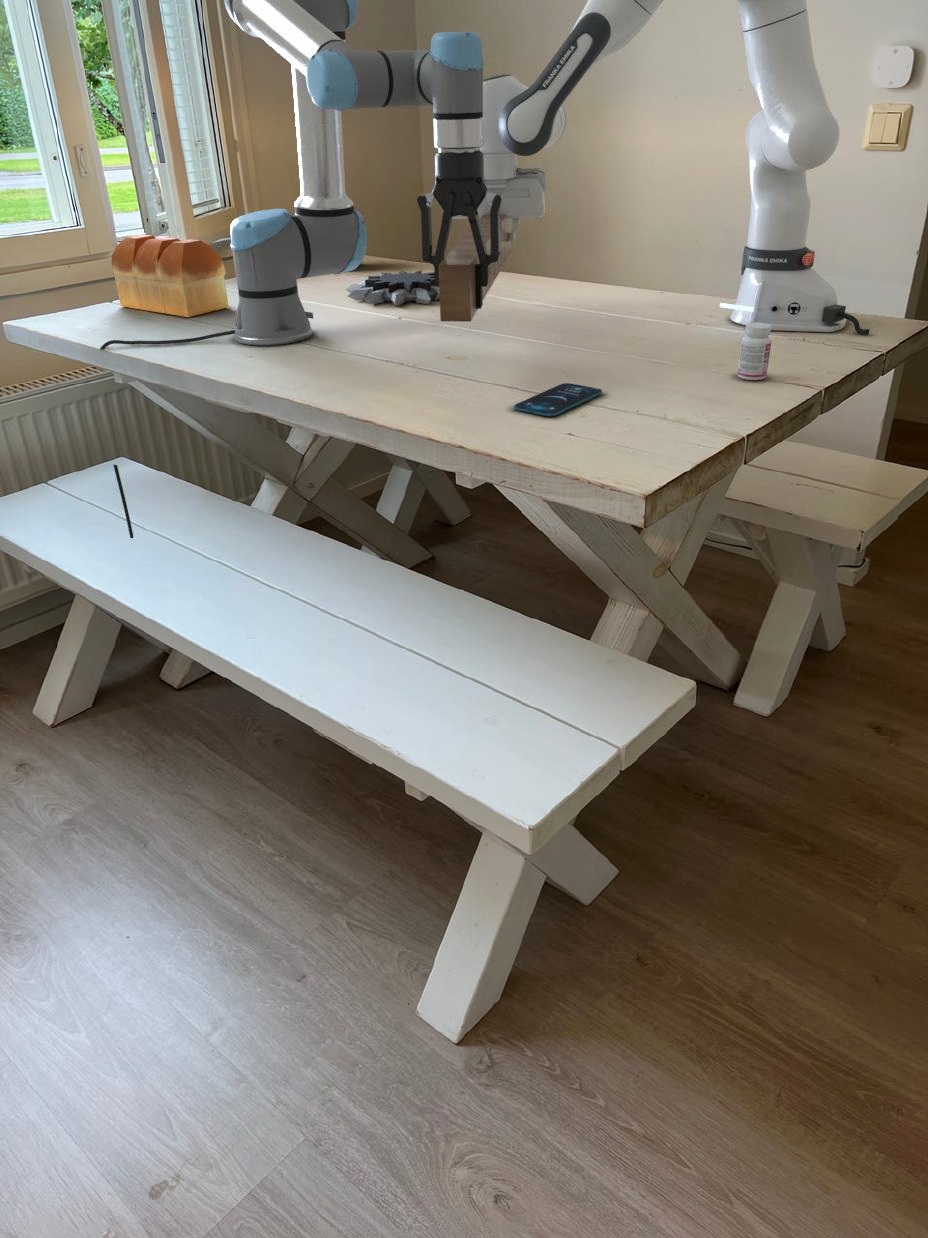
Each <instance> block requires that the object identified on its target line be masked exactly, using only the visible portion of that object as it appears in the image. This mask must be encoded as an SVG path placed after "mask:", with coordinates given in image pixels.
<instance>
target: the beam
mask: <svg viewBox="0 0 928 1238" xmlns="http://www.w3.org/2000/svg"><path fill="white" fill-rule="evenodd" d="M499 217H500V257H499V259H498V261H497V262H493V263H491V264H489V283H488V285H487V287H482V296H483V301H484V300H485V298H486V297H487V295H488V293H489V291H490V290H491V288H492V286H493V284H494V283H495V281H496V280H497V277H498V276H499V274H500V273H501V270H502V269H503V267H504V266H505V264H506V262H507V260H508V258H509V257H510V256H511V253H512V242H507V238H508V237H507V233H508V232H512V230H513V228H512V226H513V218H507V215H499ZM479 221H480V225H481V229H482V233H483V237H484V241H485V245H486V249H487V253H488V255H489V254H491V233H490V215H483V216H482V217H481V218H480V219H479ZM458 241H459V242H457V244H456V245H455V246H453V248H452V249H451V250H450V251H449V253H447V254H446V255H445V256H444V259H443V260H442V261H441V263H440V264H439V292H440V300H439V315H440V316H439V319H440V321H439V322H463V323H465V322H467V323H468V322H472V321H473V319H474V317H475V315H476V313H477V312H478V310H479V309H476V270H475V267H476V266H477V264H480V261H479V258H478V254H477V250H476V246H475V242H474V238H473V234H472V230H471V228H470V229H469V230H468V231H467V232H466V234H465V235H463V237H462V238H461V239H460V240H458Z"/></svg>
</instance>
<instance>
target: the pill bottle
mask: <svg viewBox="0 0 928 1238" xmlns="http://www.w3.org/2000/svg"><path fill="white" fill-rule="evenodd" d="M771 333H772V330H771V325H770V324H766V323H748V324H746V325H745V328H744V335H743V337H741V340H740V341H741V342H740V348H739V349H740V350H739V356H738V357H739V358H738V367H737V377H738V378H740V379H742V380H748V381H759V380H764V379H766V378H767V377H768V376H767V375H768V369H769V362H770V355H771V349H772V338H771V337H770V335H771Z"/></svg>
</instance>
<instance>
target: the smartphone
mask: <svg viewBox="0 0 928 1238" xmlns="http://www.w3.org/2000/svg"><path fill="white" fill-rule="evenodd" d="M602 393H603V389H601V388H597V387H592V386H586V385H582V384H576V383H570V382H565V383H560V384H557V385H556V386H553V387H551V388H549V389H547V390H544V391H542V392H541V393H538V394H535V395H534V396H531V397H529V398H527V399H524V400H523V401H520V402H518V403H515V404H514V405H513V409H514V410H517V411H520V412H525V413H530V414H535V415H540V416H545V417H556V416H558V415H560V414H562V413H565V412H566V411H568V410H570V409H572V408H574V407H576V406H578V405H581V404H582V403H585V402H587V401H589V400H591V399H593V398H595V397H597V396H599V395H601V394H602Z"/></svg>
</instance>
